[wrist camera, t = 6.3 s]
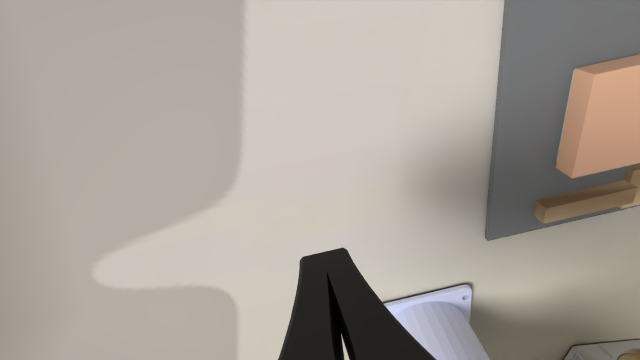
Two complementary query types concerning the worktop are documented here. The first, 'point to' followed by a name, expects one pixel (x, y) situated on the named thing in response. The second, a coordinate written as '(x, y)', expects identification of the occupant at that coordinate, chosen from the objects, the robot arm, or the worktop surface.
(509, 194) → the mat
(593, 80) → the tile
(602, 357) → the coffee box
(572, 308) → the worktop surface
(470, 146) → the worktop surface
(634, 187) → the tan stepped block
